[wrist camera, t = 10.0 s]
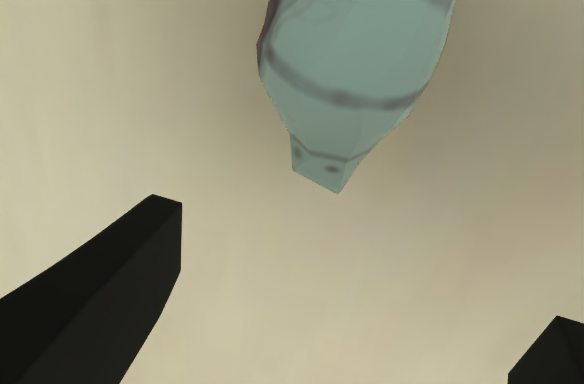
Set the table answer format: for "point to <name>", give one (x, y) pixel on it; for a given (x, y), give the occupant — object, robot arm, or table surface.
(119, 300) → the robot arm
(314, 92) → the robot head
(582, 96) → the table surface
